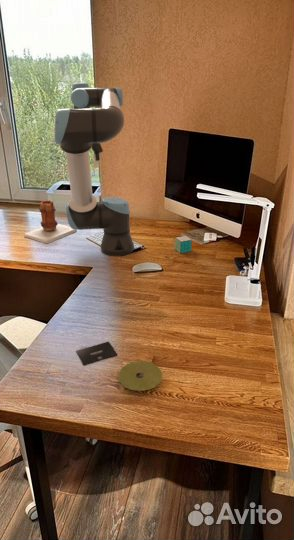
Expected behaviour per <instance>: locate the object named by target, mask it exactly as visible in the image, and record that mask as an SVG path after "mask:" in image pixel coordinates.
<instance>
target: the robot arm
mask: <svg viewBox="0 0 294 540" xmlns="http://www.w3.org/2000/svg"><path fill="white" fill-rule="evenodd" d="M71 86H72V88H71V90H72V91H71V94H70V101H71V103H72V105H73V108H70V107H67V108H59V109H58V110H57V111H56V112H55V115H54V116H55V117H54V143H55V144H56V145H60V149H61V151H62V152H63V153H65V158H66V165H67V172H68V178H69V179H68V180H69V186H70V187H69V188H70V195H71V198H70V199H69V201H68V203H66V206H65V211H66V218H67V222H68V224H69V227H71V228H72V229H76V230H77V231H78V230H79V231H83V230H102V229H103V236H102V240H101V243H100V252H101V253H102V254H104V255H107V256H112V257H120V256H121V257H122V256H127V255H129V254H131V253H133V252H134V251H133V249H134V250H135V243H134V242H133V238H132V235H131V225H130V213H131V211H130V204H129V202H128V201H127V200H126V199H123V198H120V197H117V196H116V197H114V196H108V197H103V198H101V199H102V200H101V201H97V198H96V197H95V196H94V195H93V185H92V184H93V183H92V173H91V163H90V152H89V151H90V150H91V149H92V151H93V153H92V154H93V168H94V169H97V168H100V154H101V153H103V147H102V145H101V144H103V143H107V142H109V141H112V140H113V139H115V138H116V137H117V136H118V135H119V134H120V133H121V132H122V131H123V129H124V126H125V116H124V113H123V112H122V110H121V107H123V103H124V95H123V93H124V92H123V89H122V88H121V87H90V86H89V83H88V82H73V83H72V85H71Z"/></svg>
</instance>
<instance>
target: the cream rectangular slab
mask: <svg viewBox="0 0 294 540" xmlns="http://www.w3.org/2000/svg"><path fill="white" fill-rule="evenodd" d="M77 231H78V230H76V229H72V228H71V227H70V225H69V226H68V225H65V224H60V223H58V225H57V226H56V229H55V230H53V231H45V230H43V227H42V226H41V227H39V228H36V229H33V230H30V231H28V232H26V233H24V234H23V235H24V238H28V239H31V240H34V241H38V242H41V243H43V244H49V243H52V242H55V241H57V240H60V239H62V238H64V237H67V236H69V235H71V234H73V233H76V232H77Z"/></svg>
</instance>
